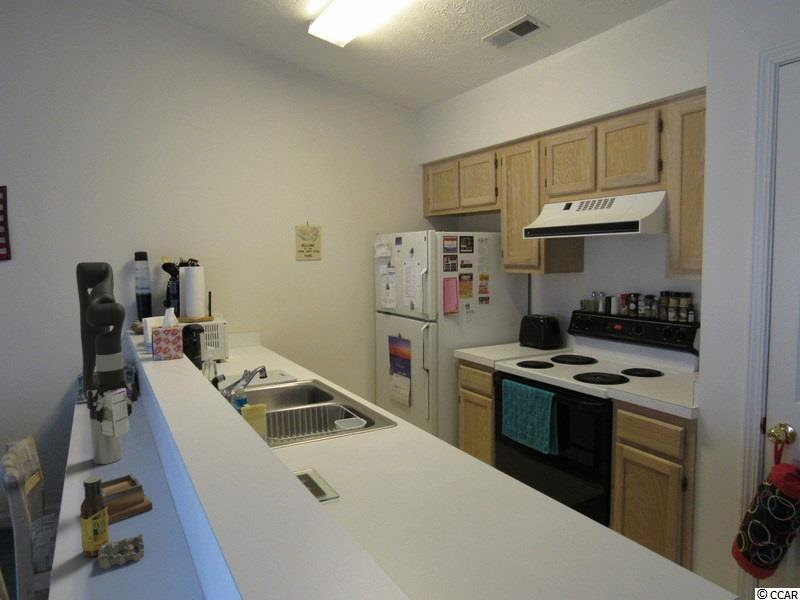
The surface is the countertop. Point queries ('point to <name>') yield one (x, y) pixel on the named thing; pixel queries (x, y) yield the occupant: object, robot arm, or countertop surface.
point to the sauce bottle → (93, 518)
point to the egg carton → (115, 547)
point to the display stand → (124, 498)
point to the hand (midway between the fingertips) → (114, 418)
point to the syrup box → (114, 414)
